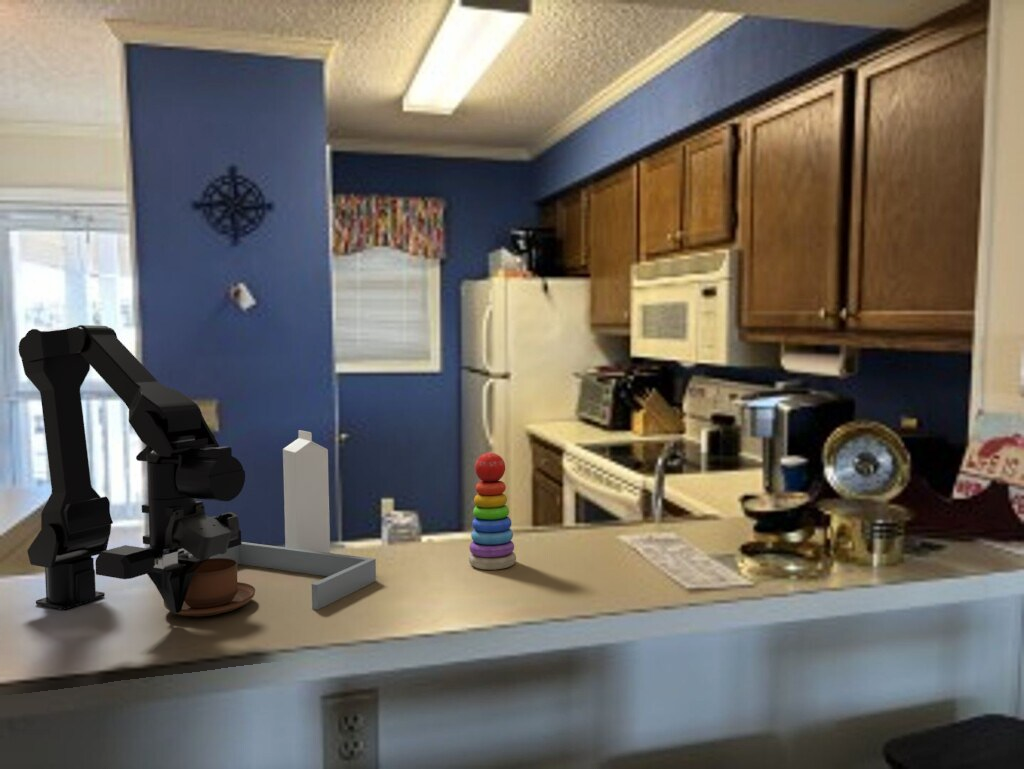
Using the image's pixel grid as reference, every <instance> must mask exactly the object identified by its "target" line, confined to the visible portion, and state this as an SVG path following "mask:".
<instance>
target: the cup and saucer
mask: <svg viewBox="0 0 1024 769" xmlns="http://www.w3.org/2000/svg"><path fill="white" fill-rule="evenodd" d="M255 593H256V587H254V586H253V585H251V584H249V583H245V582H240V581H238V565H237V561H235V560H233V559H228V558H212V559H209V560H208V561H205V562H204V563H202V564H201V565H200V566H199V567H198V568H197V569H196V570H195V572H194V575H193V577H192V579H191V582H190V585H189V588H188V591H187V594H186V597H185V600H184V603H183V606H182V609H181V611H180V612H179V613H176V614H175V615H179V616H183V617H185V616H186V617H208V616H209V617H210V616H215V615H219V614H223V613H228V612H231V611H234V610H237V609H239V608H241V607H243V606H245V605H246V604H248V603H249V602H250V601H252V599H253V598H254V596H255ZM163 606H164V608H165V609H166V610H168V611H169V612H170V610H169V608H168V607H167V605H166V603H165V601H164V600H163Z"/></svg>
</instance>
